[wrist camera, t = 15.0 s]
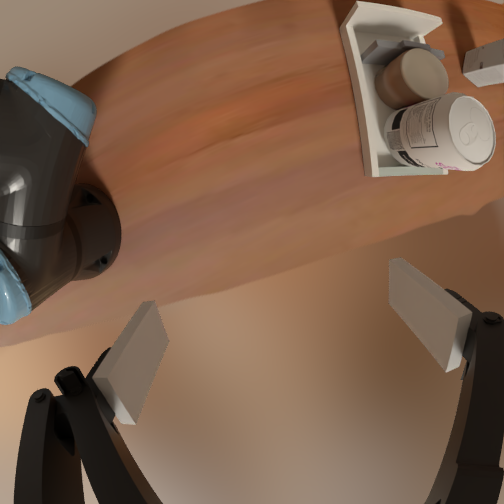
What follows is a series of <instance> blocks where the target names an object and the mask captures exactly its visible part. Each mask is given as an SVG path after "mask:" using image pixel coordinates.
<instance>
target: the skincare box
mask: <svg viewBox="0 0 504 504" xmlns="http://www.w3.org/2000/svg"><path fill="white" fill-rule="evenodd" d="M463 75H464V76H465V77H467V78H468V79H469V80H470V81H471V82H472V83H473V84H475V85H476V86H477V87H481V86H486V85H492V84H497V83H503V82H504V39H501V40H498V41H495V42H492V43H489V44H486V45H483V46H481V47H478V48H475V49H472V50H470V51H467V52H466V55H465V60H464V65H463Z"/></svg>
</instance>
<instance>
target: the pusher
mask: <svg viewBox="0 0 504 504" xmlns="http://www.w3.org/2000/svg"><path fill="white" fill-rule="evenodd" d="M414 48H421V49H424V50H427V51H429V52H430V53H432V54H433V55H435V56H436V57H437V58H438V59H439V60H441V59H443V58H445V55H444V52H443V51H441V50H437V49H432V48H430V45H428V44H423V43H418V42H413V41H408V40H402V41H401V42H393V41H386V40H377V39H376V40H375V41H374V42H373V43H372V44H371V45H370V46H369V47H368V48H367V49H366V50H365V51H364V52H363V53H362V54H361V55H360V57H361V61H362V64H376V65H387V64H388V63H390V62H391V61H392V60H394V59H395V58H397V57H398V56H399V55H401V54H402V53H404V52H405V51H407V50H410V49H414Z"/></svg>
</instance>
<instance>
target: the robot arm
mask: <svg viewBox="0 0 504 504" xmlns="http://www.w3.org/2000/svg"><path fill="white" fill-rule="evenodd" d="M96 113H97V110H96V106H95V103H94V102H93V101H92V99H90V98H89V97H88V96H86V95H85V94H83V93H81V92H80V91H78V90H76V89H74V88H72V87H70V86H68V85H66V84H64V83H62V82H59V81H57V80H55V79H53V78H50V77H48V76H45V75H42V74H40V73H36V72H33V71H30V70H28V69H26V68H22V67H13V68H12V69H11V70H10V71H9V72H8V73H7V74H6V80H3V79H0V324H3V325H8V324H12V323H14V322H16V321H17V320H19V319H20V318H22V317H23V316H27V315H29V314H30V313H31V311H32V310H33V309H35V308H36V307H37V306H38V305H40V304H41V303H42V302H44V301H45V300H46V299H47V298H49V297H50V296H51V295H53V294H54V293H55V292H57V291H58V290H59V289H61V288H62V287H63V286H65V285H66V284H67V283H69V282H70V281H77V280H85V279H91V278H94V277H96V276H98V275H100V274H101V273H103V272H104V271H105V270H107V269H108V268H109V267H110V266H111V265H112V264H113V262H114V261H115V259H116V257H117V255H118V252H119V249H120V244H121V226H120V221H119V218H118V215H117V212H116V210H115V208H114V206H113V204H112V202H111V201H110V199H109V198H108V197H107V196H106V195H105V194H104V193H103V192H102V191H101V190H99V189H98V188H96V187H94V186H92V185H89V184H75V181H76V178H77V174H78V171H79V168H80V165H81V162H82V159H83V156H84V153H85V150H86V147H88V145H89V141H88V140H89V136H90V133H91V130H92V127H93V124H94V121H95V118H96ZM389 304H390V305H391V307H392V308H393V309H394V310H395V311H396V312H397V313H398V315H399V316H400V317H401V318H402V319H403V320H404V321H405V323H406V324H407V325H408V326H409V328H410V329H411V330H412V331H413V332H414V333H415V335H416V336H417V337H418V338H419V339H420V341H421V342H422V343H423V344H424V346H425V347H426V348H427V349H428V351H429V352H430V353H431V354H432V355H433V357H434V358H435V359H436V360H437V362H438V363H439V364H440V366H441V367H442V368H443V369H444V371H445V372H448V371H450V370H453V369H455V368H457V367H459V365H460V362H461V358H462V356H463V357H464V358H465V359H466V360H467V362H466V365H465V368H464V371H463V375H462V378H461V380H463V382H462V388H461V393H460V398H459V403H458V407H457V412H456V416H455V420H454V424H453V428H452V431H451V435H450V438H449V442H448V445H447V448H446V452H445V454H444V457H443V461H442V463H441V466H440V469H439V471H438V474H437V477H436V479H435V482H434V484H433V487H432V489H431V492H430V494H429V496H428V498H427V500H426V502H425V504H497V500H498V497H499V493H500V489H501V486H502V481H503V476H504V470H503V468H500V467H499V460H500V455H501V449H502V443H503V436H504V319H503V317H502V316H501V315H499V314H497V313H495V312H483V313H482V312H480V311H479V310H478V309H477V308H475V307H474V306H473V305H472V304H470V303H469V302H467V301H466V300H465V299H464V298H462V297H461V296H460V295H459V294H458V293H456V292H454V291H452V290H449V289H443V288H441V287H440V286H439V285H437V284H436V283H435V282H434V281H432V280H431V279H430V278H428V277H427V276H425V275H424V274H423V273H422V272H420V271H419V270H418V269H416V268H415V267H413V266H412V265H411V264H409V263H408V262H407V261H405V260H404V259H402V258H401V257H400V258H395V259H390V260H389ZM168 343H169V339H168V337H167V333H166V331H165V328H164V326H163V323H162V320H161V317H160V314H159V311H158V308H157V305H156V303H155V300H154V301H147V302H143V303H142V304H141V305H140V307H139V308H138V310H137V311H136V312H135V314H134V315H133V317H132V318H131V320H130V321H129V322H128V324H127V325H126V327H125V328H124V330H123V331H122V333H121V334H120V336H119V337H118V339H117V340H116V342H115V343H114V345H113V346H112V347H110V348H108V349H107V350H105V351H104V352H103V353H102V354H101V356H100V357H99V358H98V361H97V362H96V363H95V364H94V367H92V369H91V370H90V372H89V373H88V375H87V377H86V378H84V376H83V374H82V373H81V371H80V369H79V368H78V367H76V366H71V367H67V368H64V369H63V370H61V371H60V372H59V373H58V374H57V375H56V376H55V379H54V382H55V383H56V385H57V386H58V388H59V390H60V391H61V393H62V394H63V395H60V396H53V394H52V393H51V391H50V390H49V389H46V388H44V389H40V390H37V391H35V392H34V393H33V394H32V395H31V397H30V399H29V402H28V406H27V411H26V415H25V419H24V425H23V429H22V434H21V440H20V446H19V452H18V460H17V467H16V477H15V488H14V504H85V501H84V492H83V483H82V472H81V460H82V463H83V466H84V468H85V471H86V474H87V476H88V479H89V481H90V484H91V486H92V489H93V491H94V493H95V495H96V498H97V500H98V502H99V504H163V503H162V502H161V500H160V499H159V498H158V496H157V495H156V493H155V492H154V490H153V489H152V487H151V486H150V484H149V483H148V481H147V480H146V478H145V477H144V475H143V473H142V472H141V470H140V469H139V467H138V465H137V463H136V462H135V460H134V458H133V457H132V455H131V453H130V451H129V450H128V448H127V446H126V444H125V442H124V440H123V439H122V437H121V435H120V433H119V431H118V429H117V427H116V425H115V424H114V422H113V419H114V417H115V415H116V416H117V418H118V419H119V421H120V422H121V423H122V424H134V425H136V423H137V421H138V418H139V415H140V413H141V410H142V408H143V405H144V403H145V400H146V397H147V395H148V392H149V390H150V387H151V385H152V382H153V380H154V377H155V375H156V372H157V370H158V367H159V365H160V362H161V360H162V358H163V355H164V353H165V350H166V348H167V346H168Z"/></svg>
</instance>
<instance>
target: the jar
mask: <svg viewBox="0 0 504 504" xmlns="http://www.w3.org/2000/svg"><path fill="white" fill-rule="evenodd" d="M374 84H375V89H376V92H377V94H378V96H379V98H380V99H381V100H382V101H383V102H384V103H385V104H386V105H387V106H388V107H390V108H392V109H394V110H400V109H403V108H405V107H408V106H411V105H414V104H417V103H420V102H423V101H426V100H429V99H433V98H436V97H439V96H442V95H445V93H446V92H447V89H448V76H447V73H446V70H445V68H444V66H443V65H442V63H441V62H440V61H439V59H438V58H437V57H436V56H435V55H433V54H432V53H430V52H429V51H427V50H424V49H421V48H414V49H410V50H407V51H405V52H404V53H402V54H401V55H399V56H398V57H397V58H395V59H394V60H392V61H391V62H390V63H388V64H387V65H385V66H384V67H383V68H381V69H380V70H379V71H378V72H377V74H376V76H375V80H374Z"/></svg>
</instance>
